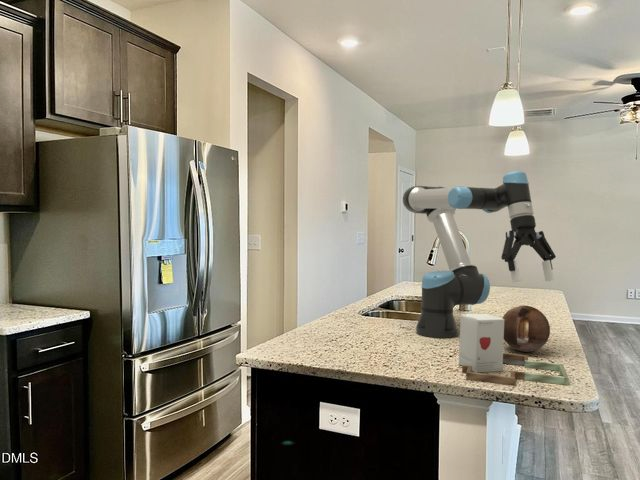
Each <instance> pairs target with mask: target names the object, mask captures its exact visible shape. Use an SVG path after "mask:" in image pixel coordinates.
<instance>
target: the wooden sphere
mask: <svg viewBox="0 0 640 480" xmlns="http://www.w3.org/2000/svg"><path fill="white" fill-rule="evenodd" d="M502 318H503V319H504V341H505V343H506V344H507V345H508V346H510V347H511V348H512V349H514V350H515V351H519V352H521V353H522V352H523V353H532V352H535V351H538V350H540V349H541V348H543V347H544V346H545V345H546V343H547V342H548V340H549V338H550V335H551V327H550V322H549V320H548V319H547V317H546V315H545V314H544V313H543V312H542V311H541V310H539V309H537V308H536V307H533V306H529V305H517V306H514V307H511V308H510V309H509V310H507V311H506V313H505V314H504V315H503V316H502Z"/></svg>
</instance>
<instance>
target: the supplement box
mask: <svg viewBox="0 0 640 480" xmlns="http://www.w3.org/2000/svg"><path fill="white" fill-rule="evenodd" d="M459 323H460V324H459V325H460V326H459V349H458V352H459V353H458V364H459V365H460V366H463V365H466V366H472V372H474V373H492V372H494V373H495V372H503V365H504V364H503V353H504V341H505V340H504V319H503V317H499V316H495V315H492V314H489V313H461V314H460V322H459Z"/></svg>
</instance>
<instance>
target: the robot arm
mask: <svg viewBox="0 0 640 480" xmlns="http://www.w3.org/2000/svg"><path fill="white" fill-rule="evenodd" d="M502 183H503V184H501V185H499V186H497V187H494V188H492V187H491V188H490V187H472V186H471V187H470V186H454V187H445V186H426V185H425V186H424V185H415V186H411V187H409V188H407V189H406V191H405V192H404V193H403V196H402V203H403V206H404V207H405V209H406V210H408V211H409V212H411V213H414V214H422V215H423V214H425V215H426V218H427V220H428V221H429V222H430V223H432V224H433V227H434V229H435V232H436V235H437V237H438V240H439V243H440V246H441V247H440V248H441V249H442V252H443V255H444V258H445V261H446V263H447V266H448V270H435V271H429V272H426V273H424V274H423V275H422V279H421V313H420V315H419V318H418V321H417V323H416V326H415V332H416V334H418V335H420V336H424V337H428V338H437V339H439V338H440V339H444V338H445V339H446V338H448V339H449V338H455V337H457V336H458V327H457V323H456V320H455V316H454V306H465V305H467V306H468V305H470V306H475V305H480V304H483V303H485V301H486V300H487V299H488V297H489V296H490V295H489V294H490V289H491V284H490V283H491V282H490V280H489V277H487V275H486V274H483V273H479V269H478V267H477V266H476V264H475V265H474V264H473V263H472V262H471V260H470V258H469V254H468V252H467V250H466V246H465V244H464V242H463V239H462V235H461V234H460V230H459V228H458V225H457V222H456V220H455V218H454V215H455V213H456V210H482V211H483V212H484V213H488V214H492V213H496V212H499V211H500V210H503V209H505V208H507V210H508V217H509V219H510V220H509V222H510V228H511V230H508V231H506V232H505V240H504V245H503V248H502V253H501V260H504V262H505V263H507V267H508V271H509V272H510V274H511V281H512V282H511V283H516V282H520V281H521V276H520V271H519V265H518V260H517V259H516V257H517V256H518V253H519V251H520V249H521V247H523V246H527V247H528V246H529V247H530V248H533V250H534V251H535V252H536V253H537V254H538V256H539V257H540V258H541V259H542V261H541V264H542V270H543V275H544V281H545V282H551V281H554V274H553V270H554V269H553V264H552V260H554V259H556V255H555V252H554V250H553V249H552V247H551V246H550V244H549V242H548V240H547V238H546V237H545V233H544V231H543V230H541V231H538V232H536V229H535V228H536V226H537V223H536V218H535V216H534V209H533V204H532V203H533V202H532V199H531V198H532V197H531V192H530V186H529V185H530V183H529V181H528V177H527V174H526V172H524V171H522V170H516V171H510V172H508V173H507V172H506V173H505V174H504V176H503V177H502Z"/></svg>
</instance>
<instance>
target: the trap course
mask: <svg viewBox="0 0 640 480" xmlns="http://www.w3.org/2000/svg"><path fill="white" fill-rule="evenodd" d="M503 365H510V366H518V367H519V366H520V367H524V368H527V369H528V368H529V369H540V370H546V371H556V372H559V376H558V375H552V374H543V373H535V372H526V371H517V370H510V376H507V375H506V376H505V375H498V374H490V373H483V372H478V373H475V372H473V371H472V366H466V365H463V366H462V365H461V366H462V367H461V368H462V369H461V371H462V374H463V373H465V374H466V377H465V378H466V380H469V381H476V382H485V383H493V384H501V385H508V386H516V380H521V379H523V380H522V381H529V380H531V381H530V382H537V381H538V382H537V383H548V384H554V385H555V384H556V385H563V386H570V385H569V384H570V383H569V380H570V378H569V375H568V373H567V370H566V369H565V367H564V364H563V363H556V362H546V361H545V362H544V361H535V360H529V357H528V355H524V354H517V353H516V354H514V353H507V352H503Z"/></svg>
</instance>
